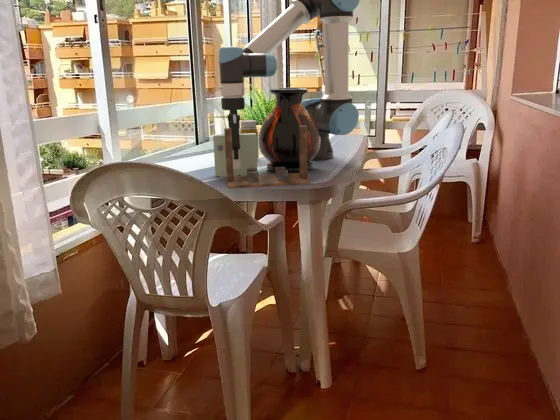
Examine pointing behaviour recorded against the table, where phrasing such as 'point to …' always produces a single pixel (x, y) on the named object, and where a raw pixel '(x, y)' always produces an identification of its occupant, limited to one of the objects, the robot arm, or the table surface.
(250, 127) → the bottle
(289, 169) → the amphora vase
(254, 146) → the beige flat panel
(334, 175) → the table surface
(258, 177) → the cabinet frame
